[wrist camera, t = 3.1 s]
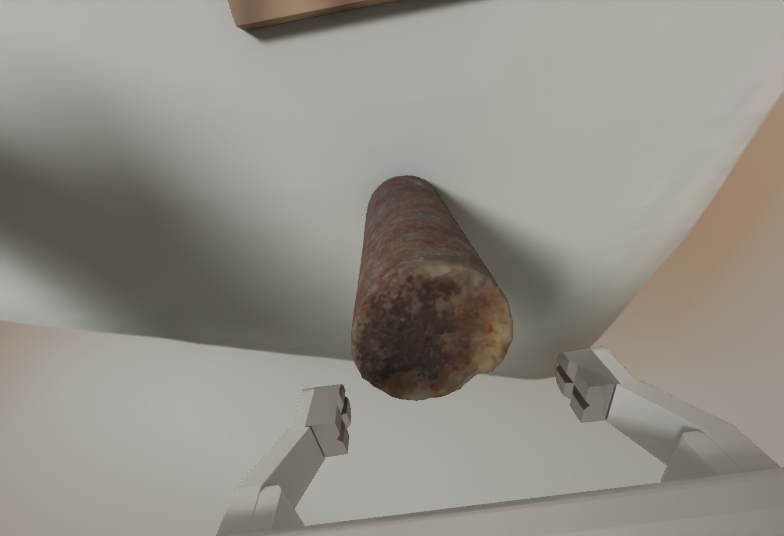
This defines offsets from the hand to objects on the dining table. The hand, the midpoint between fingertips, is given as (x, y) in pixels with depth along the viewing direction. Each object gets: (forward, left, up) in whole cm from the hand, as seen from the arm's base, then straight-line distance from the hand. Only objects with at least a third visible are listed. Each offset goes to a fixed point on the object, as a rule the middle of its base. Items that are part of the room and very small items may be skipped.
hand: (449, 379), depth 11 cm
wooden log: (0, 0, -22) cm, 22 cm away
